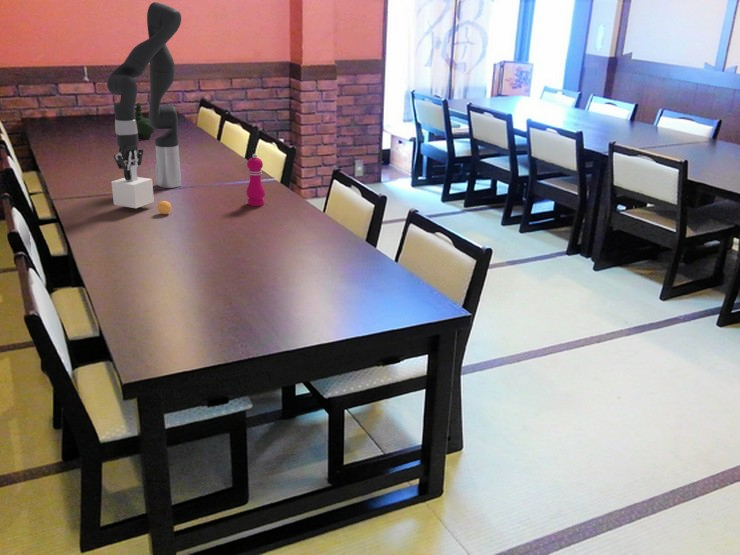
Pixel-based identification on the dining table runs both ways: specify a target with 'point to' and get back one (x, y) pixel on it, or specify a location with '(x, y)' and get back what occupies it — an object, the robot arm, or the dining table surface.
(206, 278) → the dining table surface
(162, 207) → the ball
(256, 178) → the pepper mill
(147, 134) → the toy figurine
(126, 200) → the white cube bottle
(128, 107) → the robot arm
